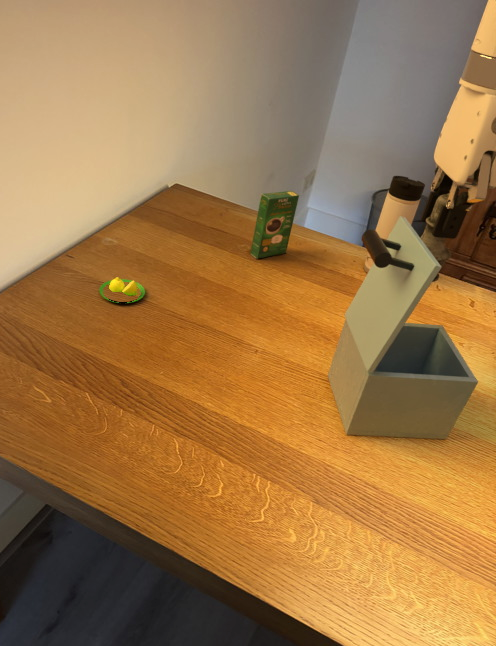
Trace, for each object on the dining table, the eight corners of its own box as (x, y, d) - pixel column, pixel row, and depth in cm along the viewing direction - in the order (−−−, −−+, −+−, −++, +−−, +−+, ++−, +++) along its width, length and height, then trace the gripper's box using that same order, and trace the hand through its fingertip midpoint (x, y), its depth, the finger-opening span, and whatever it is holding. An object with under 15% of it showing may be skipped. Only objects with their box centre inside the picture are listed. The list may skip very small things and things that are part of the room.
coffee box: (279, 247, 118) (291, 188, 110) (287, 253, 116) (300, 194, 108) (249, 253, 114) (259, 193, 106) (257, 260, 113) (268, 198, 104)
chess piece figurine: (396, 275, 74) (427, 189, 67) (401, 258, 79) (431, 175, 71) (439, 287, 73) (476, 201, 66) (442, 269, 78) (478, 186, 70)
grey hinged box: (416, 380, 87) (442, 325, 80) (446, 439, 77) (478, 381, 71) (327, 375, 86) (345, 318, 79) (345, 434, 76) (368, 375, 69)
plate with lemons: (150, 286, 100) (150, 273, 98) (137, 309, 94) (138, 295, 92) (107, 278, 100) (107, 265, 99) (92, 300, 94) (92, 286, 92)
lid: (405, 217, 69) (364, 204, 68) (442, 267, 59) (395, 253, 58) (349, 316, 79) (312, 306, 77) (372, 373, 69) (331, 363, 67)
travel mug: (358, 271, 114) (388, 176, 101) (369, 261, 118) (400, 169, 106) (386, 282, 111) (420, 187, 99) (397, 271, 116) (431, 178, 103)
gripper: (569, 97, 54) (490, 262, 66) (498, 63, 67) (442, 206, 79) (498, 89, 54) (431, 257, 65) (440, 56, 66) (392, 201, 78)
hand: (438, 228), depth 72 cm, fingers closed on chess piece figurine, 3 cm apart
